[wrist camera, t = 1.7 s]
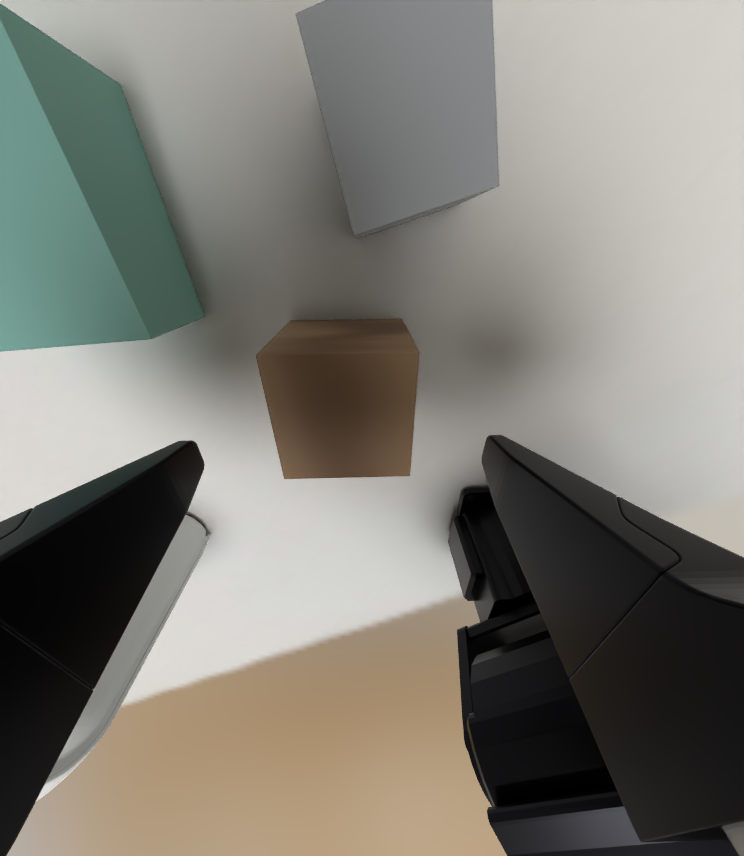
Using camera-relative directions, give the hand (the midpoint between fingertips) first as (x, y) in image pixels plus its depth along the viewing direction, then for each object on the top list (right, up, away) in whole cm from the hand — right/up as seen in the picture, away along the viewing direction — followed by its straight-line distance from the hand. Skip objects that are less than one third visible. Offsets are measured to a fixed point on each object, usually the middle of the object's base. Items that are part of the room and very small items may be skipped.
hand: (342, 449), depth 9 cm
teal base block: (-10, +8, +2) cm, 13 cm away
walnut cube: (0, +3, +5) cm, 6 cm away
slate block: (+2, +10, +1) cm, 10 cm away
